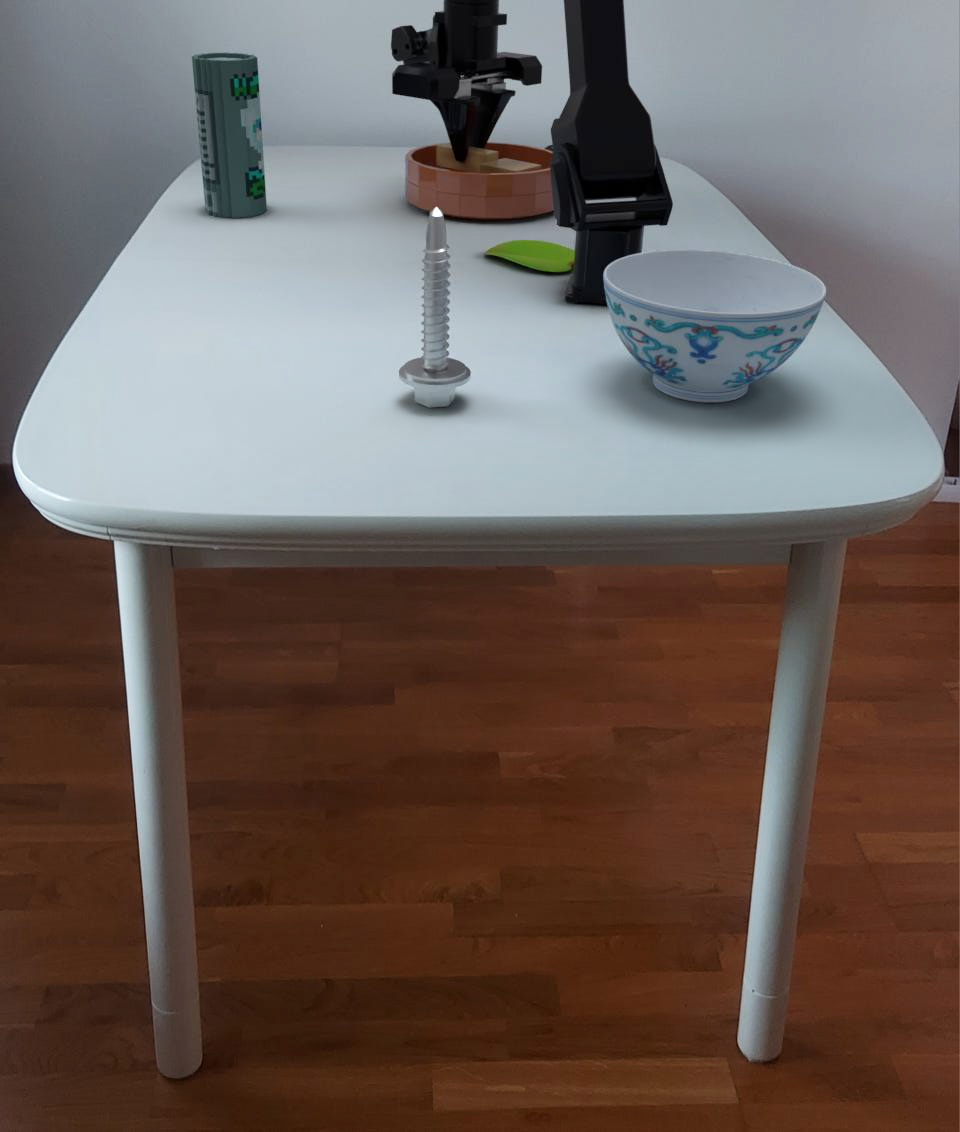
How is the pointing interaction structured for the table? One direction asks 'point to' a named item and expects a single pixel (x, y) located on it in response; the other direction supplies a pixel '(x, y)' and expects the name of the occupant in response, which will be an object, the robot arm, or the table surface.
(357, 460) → the table surface
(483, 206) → the bowl
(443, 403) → the screw
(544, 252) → the decorative leaf
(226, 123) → the can
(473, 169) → the stepped wooden block
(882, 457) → the table surface
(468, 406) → the table surface
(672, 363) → the chinaware
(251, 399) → the table surface
